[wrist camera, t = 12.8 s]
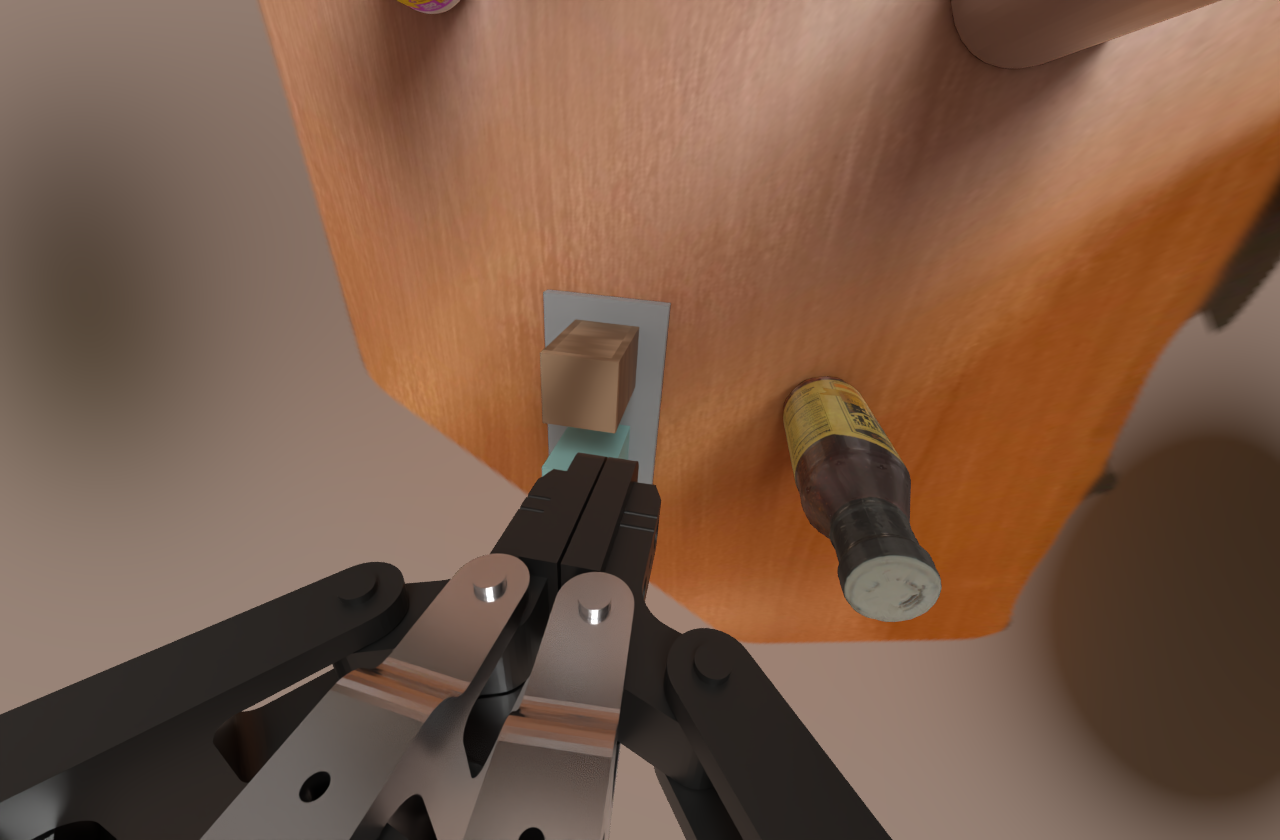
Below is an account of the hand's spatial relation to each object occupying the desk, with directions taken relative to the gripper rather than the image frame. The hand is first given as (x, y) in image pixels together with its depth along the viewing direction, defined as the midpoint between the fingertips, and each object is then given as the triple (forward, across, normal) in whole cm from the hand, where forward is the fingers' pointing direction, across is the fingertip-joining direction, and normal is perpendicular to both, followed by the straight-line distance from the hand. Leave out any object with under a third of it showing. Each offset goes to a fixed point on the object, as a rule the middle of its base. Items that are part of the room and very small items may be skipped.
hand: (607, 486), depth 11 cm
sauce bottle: (+27, -12, +9) cm, 31 cm away
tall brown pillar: (+26, +6, +6) cm, 27 cm away
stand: (+26, +6, +11) cm, 29 cm away
